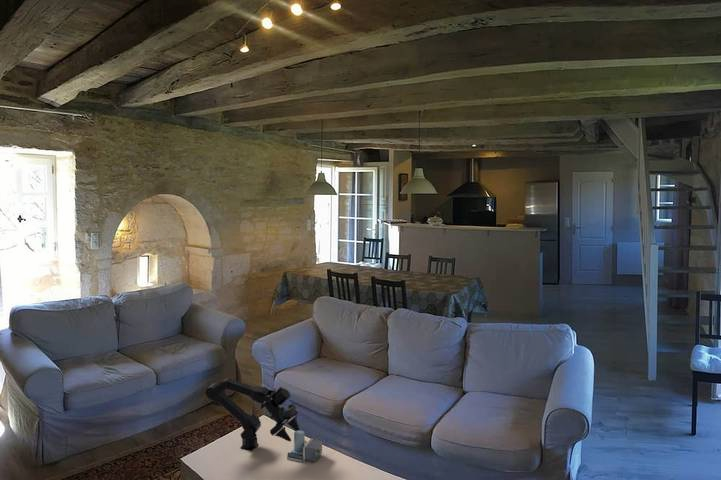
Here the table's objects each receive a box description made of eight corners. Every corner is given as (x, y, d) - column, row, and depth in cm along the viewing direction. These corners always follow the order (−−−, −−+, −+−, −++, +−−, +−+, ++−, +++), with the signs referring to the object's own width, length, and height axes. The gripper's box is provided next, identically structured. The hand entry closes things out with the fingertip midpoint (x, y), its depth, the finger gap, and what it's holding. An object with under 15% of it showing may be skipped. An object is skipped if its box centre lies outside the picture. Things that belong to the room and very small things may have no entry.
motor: (286, 459, 230) (286, 444, 230) (297, 447, 241) (297, 434, 240) (316, 465, 225) (316, 451, 225) (325, 453, 236) (325, 439, 235)
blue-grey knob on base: (290, 454, 232) (290, 434, 231) (296, 448, 238) (296, 428, 237) (303, 457, 230) (303, 437, 229) (308, 451, 236) (308, 431, 235)
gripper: (276, 409, 225) (297, 436, 223) (294, 393, 243) (314, 419, 240) (261, 422, 229) (281, 449, 226) (280, 406, 246) (299, 431, 244)
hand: (295, 436), depth 234 cm, fingers open, 9 cm apart
